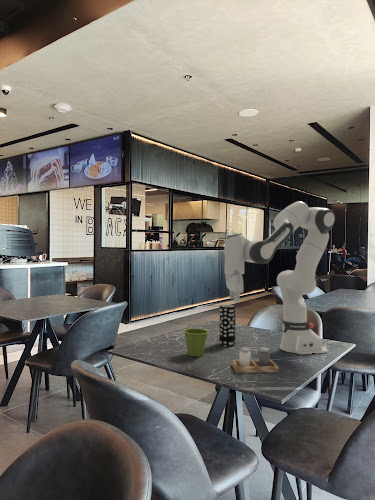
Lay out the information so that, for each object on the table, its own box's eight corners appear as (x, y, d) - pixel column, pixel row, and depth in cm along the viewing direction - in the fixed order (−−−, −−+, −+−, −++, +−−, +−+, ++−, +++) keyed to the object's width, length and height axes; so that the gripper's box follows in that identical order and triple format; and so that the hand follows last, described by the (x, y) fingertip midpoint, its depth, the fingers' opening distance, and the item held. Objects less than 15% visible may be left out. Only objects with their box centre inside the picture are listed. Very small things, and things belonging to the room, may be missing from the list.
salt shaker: (248, 366, 157) (249, 347, 157) (251, 370, 152) (251, 350, 152) (238, 366, 156) (238, 347, 156) (240, 370, 152) (240, 350, 152)
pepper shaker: (267, 366, 157) (268, 347, 157) (270, 369, 153) (271, 350, 153) (257, 366, 157) (257, 347, 157) (260, 370, 153) (260, 350, 152)
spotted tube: (217, 345, 193) (217, 306, 193) (221, 341, 201) (222, 304, 200) (232, 347, 190) (233, 307, 190) (237, 343, 198) (237, 305, 197)
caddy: (271, 366, 160) (271, 359, 160) (278, 374, 150) (278, 367, 150) (231, 367, 159) (231, 359, 159) (236, 375, 149) (236, 367, 149)
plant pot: (200, 360, 168) (200, 335, 168) (178, 356, 174) (178, 331, 174) (213, 354, 178) (213, 330, 178) (191, 350, 184) (191, 327, 184)
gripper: (246, 271, 161) (247, 304, 161) (236, 268, 181) (236, 297, 181) (232, 271, 160) (232, 304, 160) (223, 268, 180) (223, 297, 181)
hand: (234, 300), depth 171 cm, fingers open, 8 cm apart
